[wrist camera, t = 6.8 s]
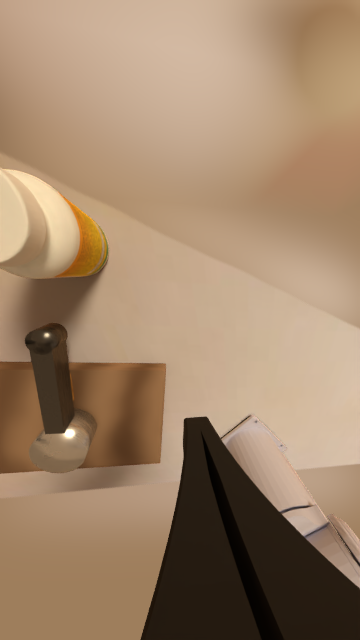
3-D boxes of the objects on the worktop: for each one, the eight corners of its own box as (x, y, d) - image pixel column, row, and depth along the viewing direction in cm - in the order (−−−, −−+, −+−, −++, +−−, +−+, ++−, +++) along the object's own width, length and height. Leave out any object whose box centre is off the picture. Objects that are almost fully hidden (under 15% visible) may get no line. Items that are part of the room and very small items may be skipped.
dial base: (165, 363, 20) (166, 371, 18) (160, 451, 24) (160, 464, 22) (-28, 361, 17) (-47, 370, 16) (1, 460, 21) (-13, 476, 19)
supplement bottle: (58, 278, 16) (-76, 286, 7) (41, 215, 15) (-158, 120, 5) (115, 274, 17) (60, 276, 7) (105, 213, 15) (18, 121, 6)
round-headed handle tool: (98, 442, 20) (87, 470, 17) (52, 444, 19) (33, 474, 16) (89, 320, 16) (73, 331, 13) (30, 318, 15) (0, 329, 12)
